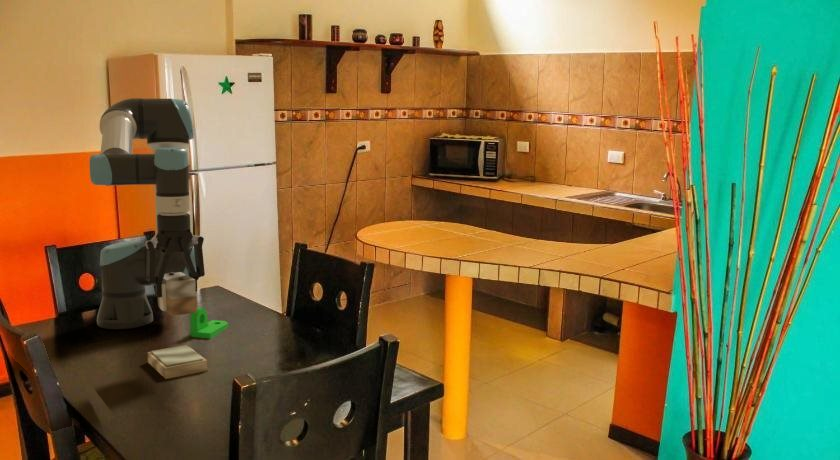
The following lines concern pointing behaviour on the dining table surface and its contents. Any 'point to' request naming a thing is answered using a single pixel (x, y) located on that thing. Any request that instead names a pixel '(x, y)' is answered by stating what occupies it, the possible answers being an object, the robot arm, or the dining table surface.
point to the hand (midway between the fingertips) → (177, 307)
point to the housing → (179, 294)
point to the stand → (177, 361)
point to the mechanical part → (205, 325)
